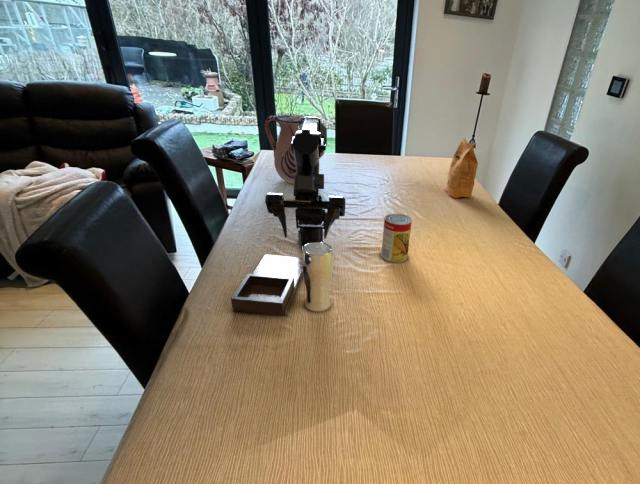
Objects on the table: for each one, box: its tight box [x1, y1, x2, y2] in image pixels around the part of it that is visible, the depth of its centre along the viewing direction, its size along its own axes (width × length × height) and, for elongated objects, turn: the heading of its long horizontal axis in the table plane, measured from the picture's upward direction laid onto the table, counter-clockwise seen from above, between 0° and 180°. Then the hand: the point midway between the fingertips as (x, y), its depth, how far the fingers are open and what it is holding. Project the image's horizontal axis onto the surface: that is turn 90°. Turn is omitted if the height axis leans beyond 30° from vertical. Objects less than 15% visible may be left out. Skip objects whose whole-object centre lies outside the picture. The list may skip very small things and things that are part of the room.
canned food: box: [380, 213, 413, 263], centre depth 121 cm, size 8×8×12 cm
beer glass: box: [301, 242, 334, 312], centre depth 96 cm, size 7×7×15 cm
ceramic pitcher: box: [264, 114, 305, 185], centre depth 169 cm, size 18×21×25 cm
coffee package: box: [445, 137, 479, 199], centre depth 173 cm, size 10×12×22 cm
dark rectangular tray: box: [230, 254, 303, 316], centre depth 104 cm, size 27×12×4 cm, turn 178°
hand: (305, 237), depth 98 cm, fingers open, 9 cm apart
